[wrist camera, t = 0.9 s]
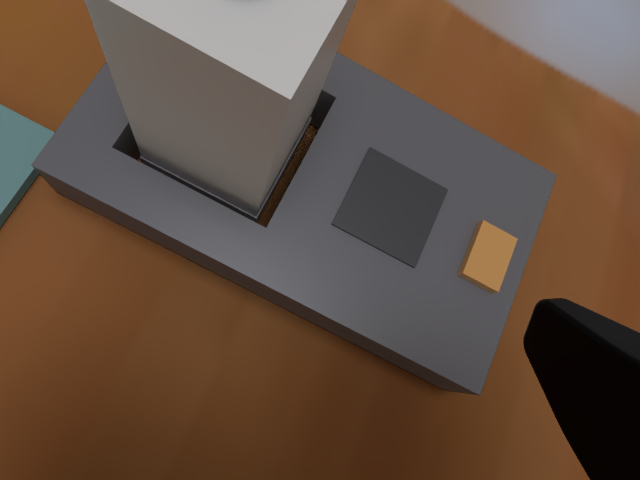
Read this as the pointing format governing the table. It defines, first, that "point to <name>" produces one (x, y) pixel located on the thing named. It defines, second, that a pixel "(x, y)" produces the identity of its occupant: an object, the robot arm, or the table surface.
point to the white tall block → (220, 85)
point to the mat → (18, 157)
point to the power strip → (343, 221)
